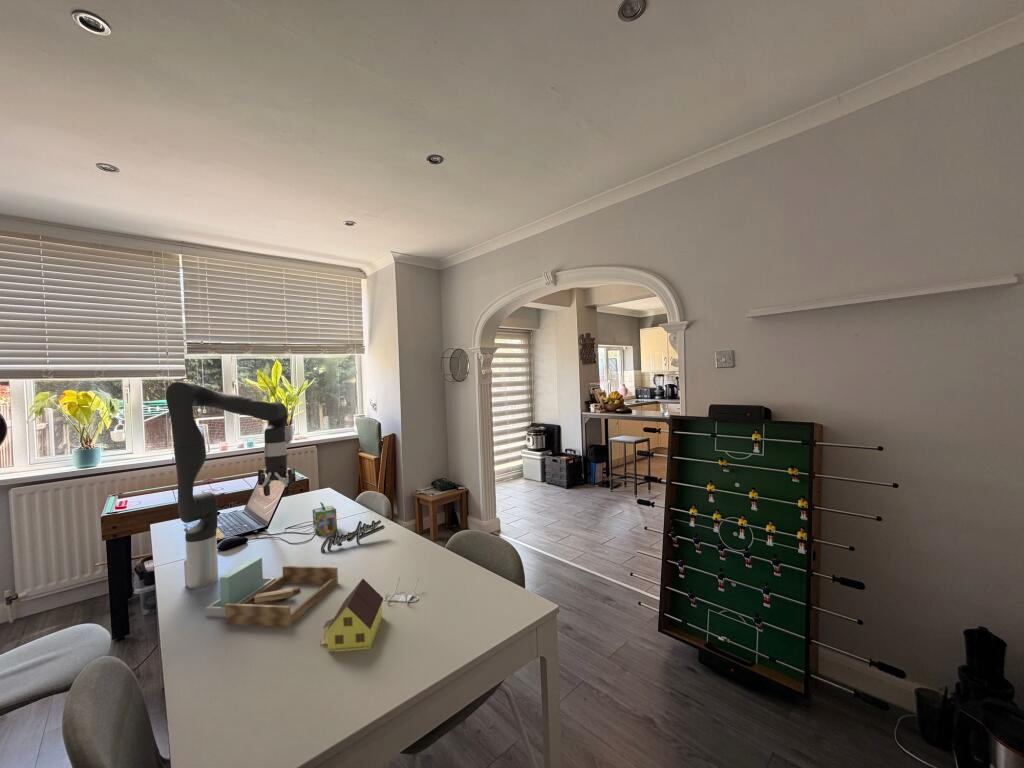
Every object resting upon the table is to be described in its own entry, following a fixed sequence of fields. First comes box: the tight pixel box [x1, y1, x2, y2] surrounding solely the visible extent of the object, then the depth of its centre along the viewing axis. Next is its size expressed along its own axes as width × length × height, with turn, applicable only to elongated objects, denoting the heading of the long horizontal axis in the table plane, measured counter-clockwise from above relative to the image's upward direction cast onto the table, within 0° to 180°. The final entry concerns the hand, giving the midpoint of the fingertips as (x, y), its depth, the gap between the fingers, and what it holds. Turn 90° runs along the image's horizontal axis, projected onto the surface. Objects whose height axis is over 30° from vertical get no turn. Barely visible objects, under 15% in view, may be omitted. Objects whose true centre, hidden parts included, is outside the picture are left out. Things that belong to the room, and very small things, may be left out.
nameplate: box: [320, 519, 385, 553], centre depth 188 cm, size 28×2×10 cm, turn 122°
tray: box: [205, 576, 277, 618], centre depth 143 cm, size 9×21×3 cm, turn 172°
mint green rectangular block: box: [219, 556, 264, 607], centre depth 143 cm, size 3×15×11 cm, turn 172°
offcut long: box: [256, 585, 301, 605], centre depth 140 cm, size 2×18×2 cm, turn 148°
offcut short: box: [254, 587, 293, 603], centre depth 140 cm, size 2×11×2 cm, turn 107°
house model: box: [319, 578, 384, 653], centre depth 121 cm, size 18×20×13 cm
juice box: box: [312, 502, 338, 537], centre depth 206 cm, size 9×9×15 cm
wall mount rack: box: [383, 576, 420, 604], centre depth 142 cm, size 12×11×4 cm
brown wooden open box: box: [225, 565, 339, 628], centre depth 141 cm, size 21×27×6 cm
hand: (277, 495), depth 162 cm, fingers open, 8 cm apart
